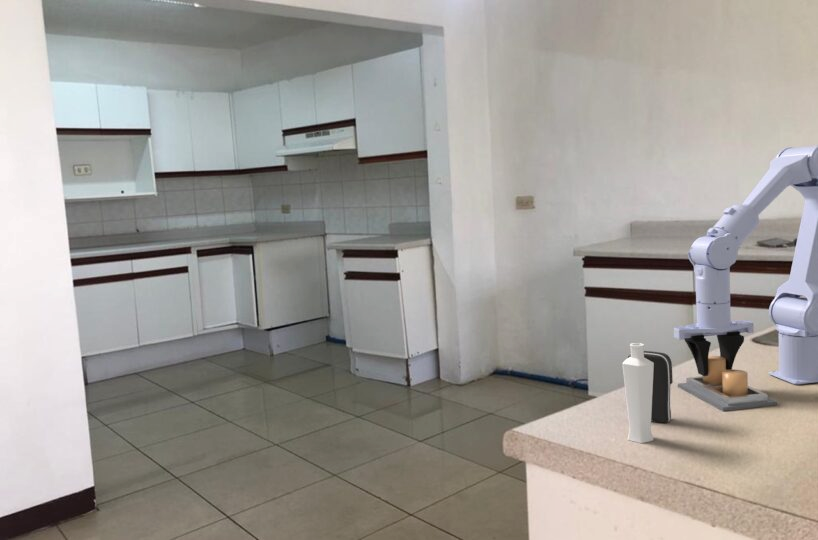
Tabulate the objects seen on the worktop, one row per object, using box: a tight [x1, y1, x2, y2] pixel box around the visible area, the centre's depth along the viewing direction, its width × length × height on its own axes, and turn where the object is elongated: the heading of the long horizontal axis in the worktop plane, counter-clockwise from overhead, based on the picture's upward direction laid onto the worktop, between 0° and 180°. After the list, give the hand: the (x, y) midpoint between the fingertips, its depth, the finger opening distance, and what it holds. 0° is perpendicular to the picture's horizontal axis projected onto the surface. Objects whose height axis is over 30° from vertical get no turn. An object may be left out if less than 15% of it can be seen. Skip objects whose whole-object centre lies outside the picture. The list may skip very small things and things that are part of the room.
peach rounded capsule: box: [703, 355, 726, 385], centre depth 124 cm, size 4×4×4 cm
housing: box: [677, 368, 779, 412], centre depth 121 cm, size 10×15×5 cm, turn 6°
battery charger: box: [627, 350, 674, 424], centre depth 112 cm, size 7×4×11 cm, turn 50°
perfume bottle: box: [621, 342, 655, 444], centre depth 103 cm, size 5×4×15 cm
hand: (714, 373), depth 124 cm, fingers closed on peach rounded capsule, 4 cm apart
